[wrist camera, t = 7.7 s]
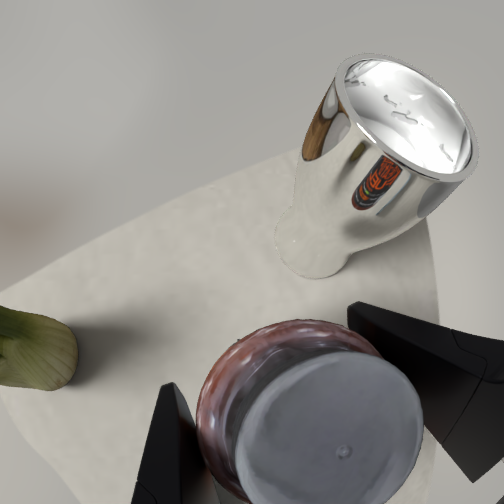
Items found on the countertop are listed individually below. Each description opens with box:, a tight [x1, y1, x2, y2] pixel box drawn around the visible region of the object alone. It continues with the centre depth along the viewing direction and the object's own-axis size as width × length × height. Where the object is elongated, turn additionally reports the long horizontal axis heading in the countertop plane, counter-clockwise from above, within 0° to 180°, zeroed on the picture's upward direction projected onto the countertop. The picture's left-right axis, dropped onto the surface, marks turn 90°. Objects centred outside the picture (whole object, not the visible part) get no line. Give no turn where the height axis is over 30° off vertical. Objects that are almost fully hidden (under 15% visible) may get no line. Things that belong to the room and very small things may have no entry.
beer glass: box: [274, 53, 479, 279], centre depth 17 cm, size 7×7×15 cm
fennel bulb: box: [0, 306, 78, 391], centre depth 13 cm, size 6×5×12 cm
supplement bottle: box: [196, 319, 424, 504], centre depth 10 cm, size 6×6×11 cm
